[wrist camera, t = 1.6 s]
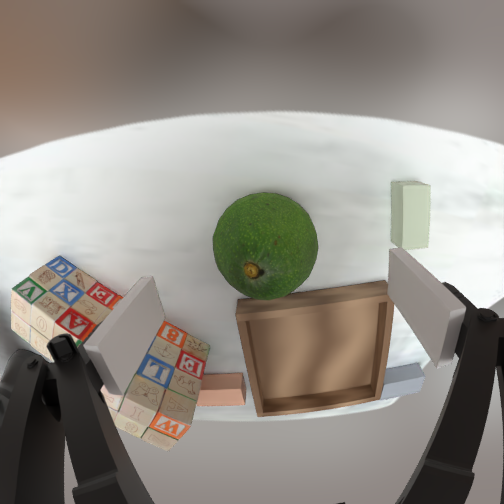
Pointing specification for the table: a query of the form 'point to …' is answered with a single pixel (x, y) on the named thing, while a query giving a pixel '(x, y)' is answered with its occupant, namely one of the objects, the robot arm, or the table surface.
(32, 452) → the robot arm
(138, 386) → the stack of blocks
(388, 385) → the slate brick
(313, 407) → the tray
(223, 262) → the fruit
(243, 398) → the terracotta brick
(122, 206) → the table surface
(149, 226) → the table surface
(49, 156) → the table surface
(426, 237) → the sage brick
